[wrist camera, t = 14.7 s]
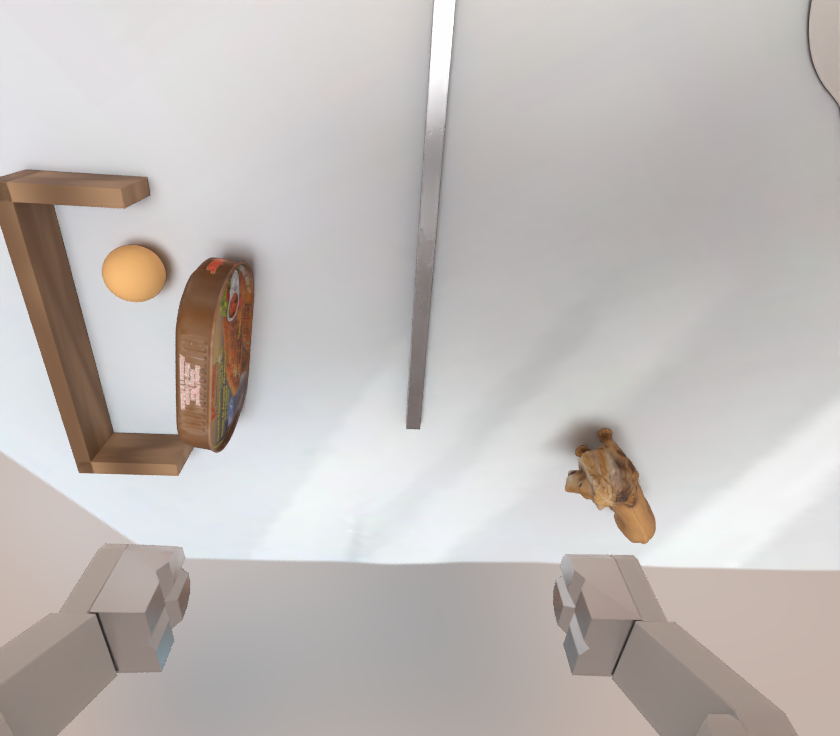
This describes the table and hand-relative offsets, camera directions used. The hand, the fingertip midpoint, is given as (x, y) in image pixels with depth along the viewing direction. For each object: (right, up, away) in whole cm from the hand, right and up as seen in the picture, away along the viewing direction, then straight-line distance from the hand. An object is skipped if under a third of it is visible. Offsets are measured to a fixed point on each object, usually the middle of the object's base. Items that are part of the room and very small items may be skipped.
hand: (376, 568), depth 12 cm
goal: (-23, +8, +31) cm, 39 cm away
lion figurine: (+18, -5, +39) cm, 44 cm away
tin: (-14, +7, +32) cm, 35 cm away
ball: (-19, +11, +27) cm, 35 cm away
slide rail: (+1, +14, +28) cm, 31 cm away
